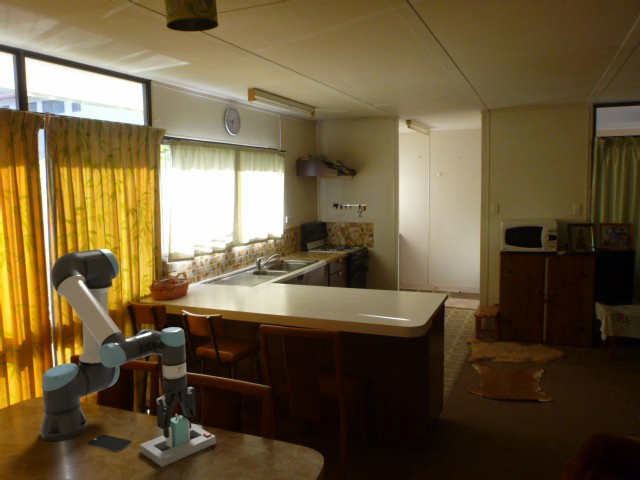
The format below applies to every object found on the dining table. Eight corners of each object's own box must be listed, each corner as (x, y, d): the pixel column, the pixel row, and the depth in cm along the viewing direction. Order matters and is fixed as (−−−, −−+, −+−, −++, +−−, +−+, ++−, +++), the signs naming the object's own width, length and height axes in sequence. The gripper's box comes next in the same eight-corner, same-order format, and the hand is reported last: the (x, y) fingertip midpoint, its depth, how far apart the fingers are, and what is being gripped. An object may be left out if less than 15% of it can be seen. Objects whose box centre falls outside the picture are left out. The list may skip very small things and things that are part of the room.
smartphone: (102, 433, 187) (134, 441, 181) (102, 435, 187) (134, 443, 181) (84, 443, 180) (117, 451, 174) (84, 445, 180) (117, 453, 174)
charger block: (169, 448, 176) (168, 415, 175) (181, 443, 179) (180, 411, 178) (177, 452, 173) (175, 419, 171) (189, 447, 176) (187, 414, 175)
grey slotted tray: (140, 452, 174) (139, 442, 174) (192, 431, 188) (192, 422, 188) (162, 467, 164) (161, 457, 164) (215, 444, 179) (215, 434, 178)
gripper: (154, 386, 164) (158, 457, 167) (205, 370, 178) (208, 435, 180) (142, 380, 169) (146, 449, 172) (193, 365, 183) (196, 429, 185)
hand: (178, 442), depth 176 cm, fingers open, 6 cm apart
